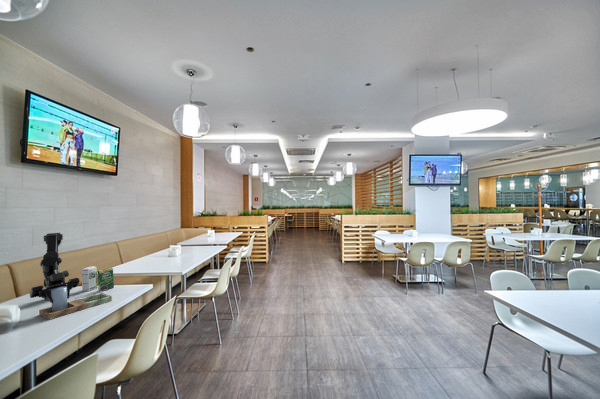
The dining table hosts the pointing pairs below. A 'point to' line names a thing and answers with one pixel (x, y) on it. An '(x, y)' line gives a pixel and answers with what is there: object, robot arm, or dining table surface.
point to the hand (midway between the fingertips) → (60, 300)
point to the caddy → (76, 305)
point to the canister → (59, 299)
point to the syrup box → (89, 278)
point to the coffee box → (105, 279)
